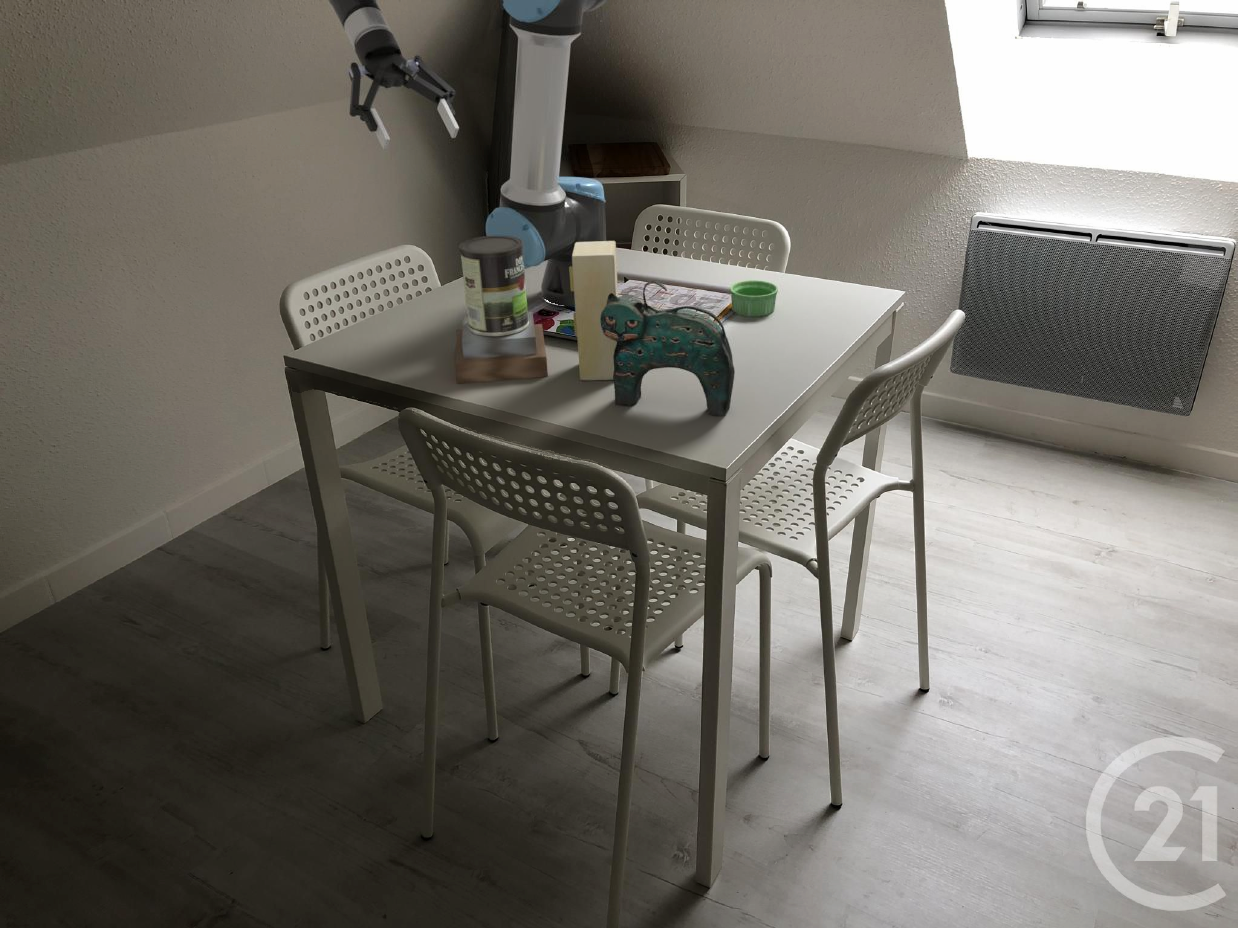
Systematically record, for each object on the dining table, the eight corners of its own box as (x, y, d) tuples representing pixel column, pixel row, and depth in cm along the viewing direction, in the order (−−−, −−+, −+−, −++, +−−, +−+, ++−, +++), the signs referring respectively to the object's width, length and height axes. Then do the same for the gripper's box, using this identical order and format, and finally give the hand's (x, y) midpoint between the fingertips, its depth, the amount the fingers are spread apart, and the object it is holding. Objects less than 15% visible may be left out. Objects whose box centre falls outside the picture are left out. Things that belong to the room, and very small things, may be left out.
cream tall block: (578, 362, 166) (571, 241, 156) (621, 361, 166) (616, 240, 155) (574, 381, 159) (567, 256, 149) (619, 380, 159) (615, 255, 148)
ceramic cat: (602, 406, 151) (596, 282, 141) (615, 389, 156) (611, 268, 146) (727, 421, 145) (730, 293, 135) (737, 403, 150) (741, 278, 140)
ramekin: (719, 309, 186) (720, 287, 184) (752, 298, 191) (753, 277, 188) (753, 322, 180) (754, 299, 178) (786, 310, 184) (788, 288, 182)
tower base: (543, 342, 174) (540, 307, 171) (547, 376, 161) (545, 339, 158) (459, 348, 173) (454, 314, 170) (456, 383, 160) (452, 346, 157)
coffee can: (539, 318, 167) (533, 237, 160) (512, 340, 158) (505, 255, 151) (486, 312, 170) (477, 233, 163) (457, 333, 162) (447, 250, 155)
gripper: (430, 49, 186) (477, 141, 183) (304, 63, 174) (352, 162, 170) (439, 21, 180) (488, 115, 177) (310, 33, 167) (360, 135, 164)
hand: (422, 139), depth 173 cm, fingers open, 13 cm apart
